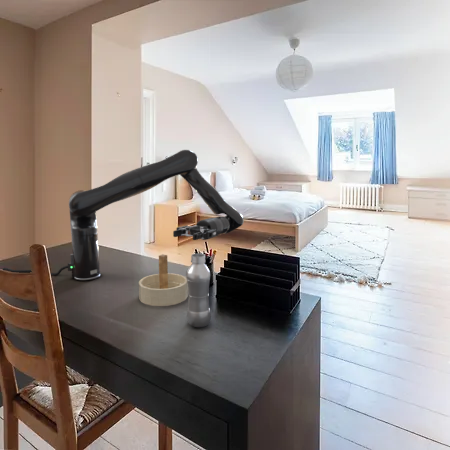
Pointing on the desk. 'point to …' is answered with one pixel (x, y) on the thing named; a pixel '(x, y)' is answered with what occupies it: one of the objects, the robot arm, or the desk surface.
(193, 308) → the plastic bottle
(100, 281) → the desk surface
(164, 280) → the wooden t-shaped block
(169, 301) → the bowl
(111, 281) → the desk surface
